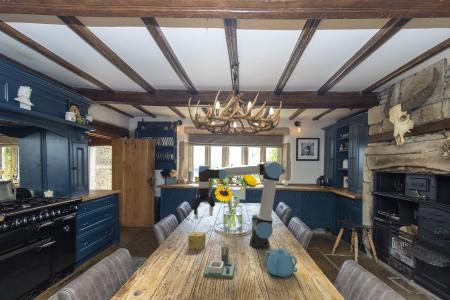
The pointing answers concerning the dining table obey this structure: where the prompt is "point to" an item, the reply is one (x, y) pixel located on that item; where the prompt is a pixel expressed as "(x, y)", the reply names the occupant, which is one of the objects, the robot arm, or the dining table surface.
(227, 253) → the plug
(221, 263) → the header board
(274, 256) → the decorative pot
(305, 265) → the dining table surface
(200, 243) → the cheese
